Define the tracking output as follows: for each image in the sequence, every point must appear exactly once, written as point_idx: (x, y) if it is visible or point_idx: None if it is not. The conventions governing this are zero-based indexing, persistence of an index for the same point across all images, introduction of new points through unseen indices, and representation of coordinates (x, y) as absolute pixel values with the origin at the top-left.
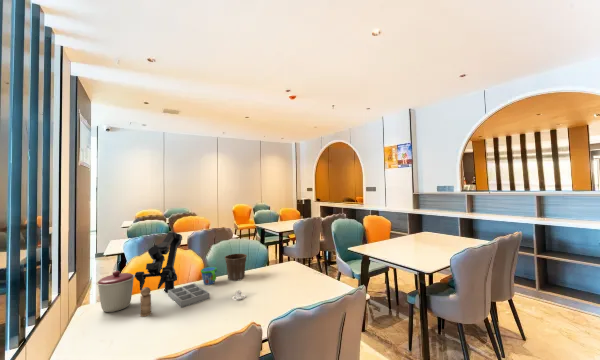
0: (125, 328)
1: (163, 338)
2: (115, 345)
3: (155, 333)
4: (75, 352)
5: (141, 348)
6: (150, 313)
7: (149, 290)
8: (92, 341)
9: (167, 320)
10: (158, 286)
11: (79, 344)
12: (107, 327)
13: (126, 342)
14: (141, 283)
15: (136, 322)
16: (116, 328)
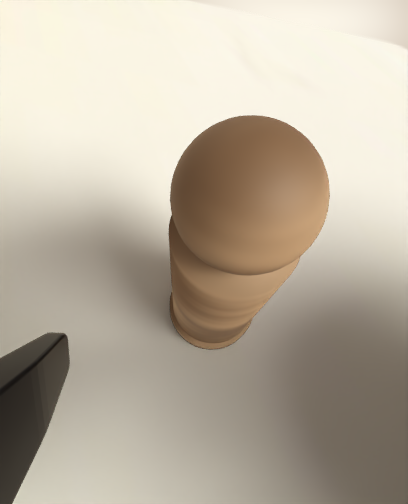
0: None
1: (27, 32)
2: (217, 40)
3: (71, 71)
4: (346, 40)
5: (103, 3)
6: (172, 295)
7: (176, 167)
8: (341, 85)
9: (23, 173)
10: (33, 347)
11: (380, 79)
12: (371, 185)
13: (181, 45)
14: None
15: None
16: None
